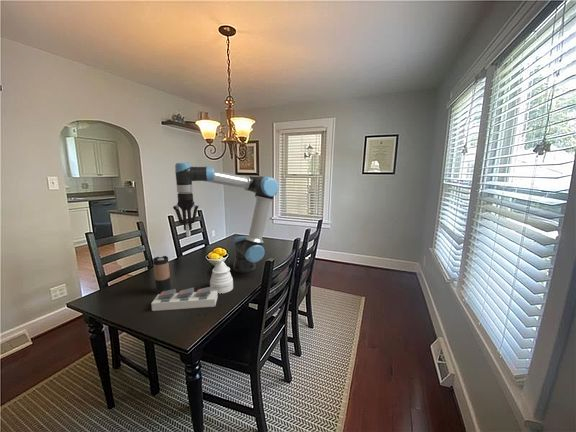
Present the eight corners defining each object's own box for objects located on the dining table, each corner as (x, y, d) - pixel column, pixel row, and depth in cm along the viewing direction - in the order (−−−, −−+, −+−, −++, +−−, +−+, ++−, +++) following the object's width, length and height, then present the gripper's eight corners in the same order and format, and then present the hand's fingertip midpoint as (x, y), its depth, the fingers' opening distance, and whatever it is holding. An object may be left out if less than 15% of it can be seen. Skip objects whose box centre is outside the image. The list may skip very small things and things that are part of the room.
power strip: (217, 297, 134) (217, 290, 134) (215, 306, 126) (214, 298, 125) (159, 301, 131) (158, 294, 130) (152, 311, 122) (151, 303, 121)
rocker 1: (176, 291, 130) (175, 288, 129) (173, 296, 125) (172, 293, 125) (162, 294, 129) (161, 291, 129) (159, 299, 124) (158, 296, 124)
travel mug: (163, 296, 136) (160, 261, 132) (153, 293, 138) (149, 259, 134) (174, 289, 143) (171, 256, 139) (164, 287, 145) (160, 255, 142)
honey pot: (232, 292, 140) (231, 262, 136) (208, 294, 138) (206, 263, 134) (233, 282, 152) (232, 254, 149) (212, 283, 150) (210, 255, 146)
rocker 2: (211, 289, 132) (211, 286, 132) (210, 293, 127) (209, 290, 127) (198, 292, 131) (197, 289, 131) (196, 296, 127) (195, 294, 126)
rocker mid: (194, 290, 131) (193, 287, 131) (192, 294, 126) (191, 291, 126) (180, 293, 130) (180, 290, 130) (178, 298, 125) (177, 295, 125)
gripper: (199, 191, 135) (202, 233, 140) (174, 192, 134) (178, 234, 138) (196, 193, 128) (199, 237, 133) (169, 193, 126) (173, 238, 131)
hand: (188, 235), depth 135 cm, fingers closed
